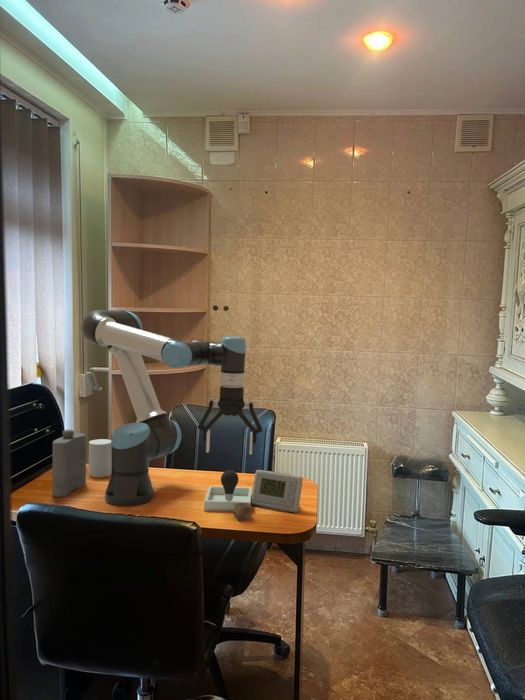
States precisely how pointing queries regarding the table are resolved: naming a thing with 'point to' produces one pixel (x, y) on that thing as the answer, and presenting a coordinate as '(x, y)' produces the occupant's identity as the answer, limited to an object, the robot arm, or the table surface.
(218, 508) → the tray
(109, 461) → the cup
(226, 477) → the light bulb
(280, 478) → the digital clock
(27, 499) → the table surface
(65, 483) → the flask
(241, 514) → the walnut block
